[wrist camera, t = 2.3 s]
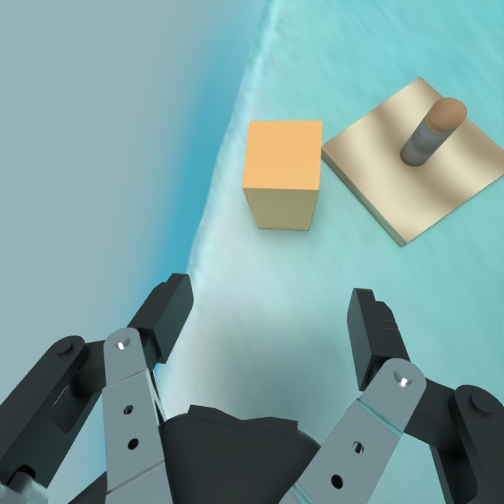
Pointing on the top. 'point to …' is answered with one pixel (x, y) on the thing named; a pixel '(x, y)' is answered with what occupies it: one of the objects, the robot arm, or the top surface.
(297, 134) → the tall orange pillar
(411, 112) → the post board
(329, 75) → the top surface
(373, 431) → the robot arm
